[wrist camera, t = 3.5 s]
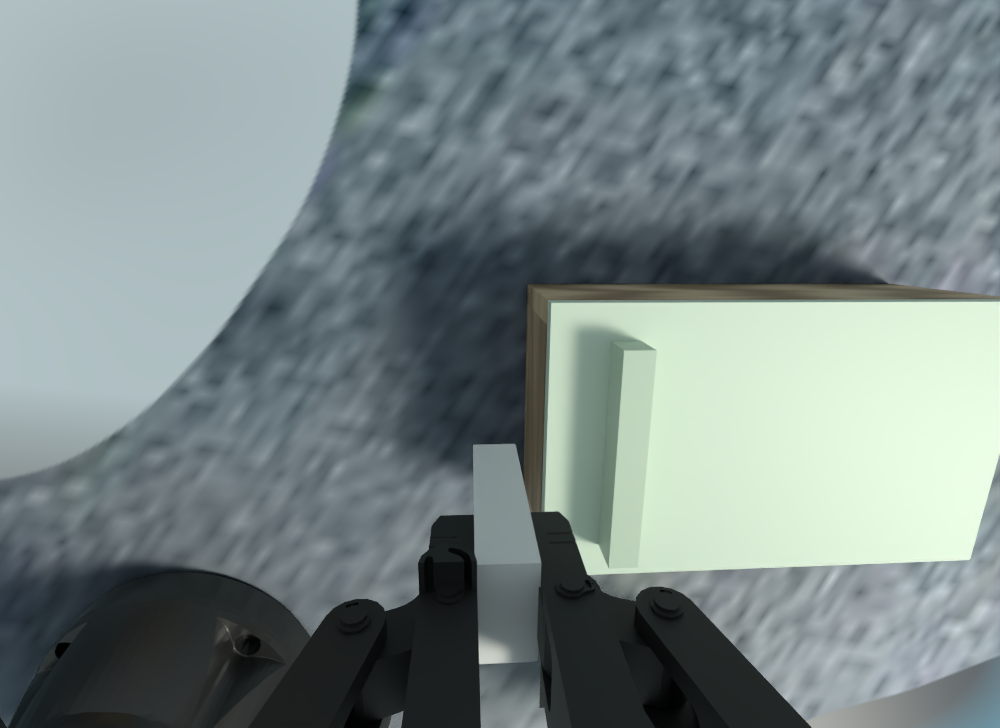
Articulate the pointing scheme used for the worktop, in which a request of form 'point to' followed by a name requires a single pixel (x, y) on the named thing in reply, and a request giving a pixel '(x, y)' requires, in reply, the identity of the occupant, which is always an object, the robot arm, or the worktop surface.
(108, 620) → the robot arm
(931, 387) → the lid
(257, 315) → the worktop surface
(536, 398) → the lid box
